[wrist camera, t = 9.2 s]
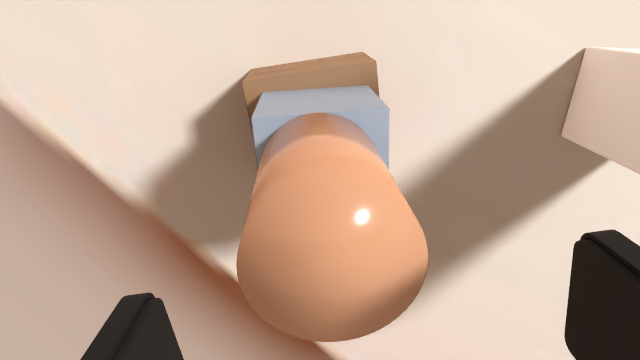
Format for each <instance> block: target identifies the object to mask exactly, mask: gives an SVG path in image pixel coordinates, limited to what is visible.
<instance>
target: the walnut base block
mask: <svg viewBox="0 0 640 360" xmlns="http://www.w3.org/2000/svg"><path fill="white" fill-rule="evenodd" d="M365 85H368V86H369V87H370V88H371V89H372V90H373V92H374V93H375V94H376V95H377V96H378V97H379V89H378V77H377V65H376V61H375V60H374V59H372V58H371V57H369V56H368V55H366V54H365V53H363V52H359V53H353V54H346V55H340V56H333V57H327V58H320V59H314V60H307V61H301V62H294V63H288V64H281V65H275V66H268V67H262V68H255V69H251V71H250V72H249V73H248V74H247V76H246V77H245V78H244V79H243V81H242V86H243V91H244V95H245V100H246V105H247V109H248V114H249V118H250V123H251V128H252V132H253V127H252V119H251V117H252V115H253V113H254V111H255V108H256V106H257V104H258V102H259V99H260V97H261V95H262V93H263V92H272V91H288V90H303V89H319V88H334V87H350V86H365ZM253 137H254V135H253Z"/></svg>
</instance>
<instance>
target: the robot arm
mask: <svg viewBox="0 0 640 360" xmlns="http://www.w3.org/2000/svg"><path fill="white" fill-rule="evenodd" d="M565 342H566V345H567V347H568V349H569V351H570V352H571V354H572V355H573V356H574V358H575V359H576V360H640V246H638V245H637V244H635V243H634V242H633V241H631V240H630V239H628V238H627V237H625V236H624V235H623V234H621V233H620V232H618V231H616V230H605V231H597V232H590V233H585V234H583V235H582V237H581V239H580V241H577V242H576V243H575V244H574V249H573V259H572V268H571V278H570V287H569V297H568V306H567V316H566V325H565ZM81 360H184V359H183V356H182V354H181V351H180V348H179V346H178V343H177V340H176V337H175V334H174V332H173V328H172V326H171V323H170V320H169V317H168V315H167V313H166V309H165V306H164V304H163V301H162V300H161V299H160V298H155V297H154V295H153V294H152V293H143V294H135V295H128V296H124V297H123V298H122V299H121V300H120V301H119V303H118V304H117V306H116V307H115V309H114V310H113V312H112V313H111V315H110V316H109V318H108V319H107V321H106V322H105V324H104V325H103V327H102V328H101V330H100V331H99V333H98V334H97V336H96V337H95V339H94V340H93V342H92V343H91V345H90V346H89V348H88V349H87V351H86V352H85V354H84V355H83V357H82V358H81Z"/></svg>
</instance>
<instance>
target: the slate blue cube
mask: <svg viewBox="0 0 640 360" xmlns="http://www.w3.org/2000/svg"><path fill="white" fill-rule="evenodd" d="M309 113H331V114H336V115H339V116H342V117H345V118H347V119H349V120H351V121H352V122H354V123H356V124H357V125H358V126H359V127H361V128H362V129H363V130H364V132H365V133H366V134H367V135H368V136H369V138H370V139H371V141H372V143H373V144H374V146H375V148H376V149H377V151H378V153H379V155H380V156H381V158H382V160H383V161H384V163H385V165H386V167H387V168H388V170H389V108H388V107H387V105H386V104H385V103H384V102H383V101H382V100H381V99H380V98H379V97H378V96H377V95H376V94H375V93H374V92H373V90H372V89H371V88H370V87H369V86H368V85H365V86H350V87H334V88H319V89H303V90H288V91H272V92H263V93H262V95H261V97H260V99H259V102H258V104H257V106H256V108H255V111H254V113H253V115H252V117H251V119H252V127H253V135H254V143H255V151H256V159H257V168H259V164H260V160H261V156H262V152H263V150H264V147H265V145H266V143H267V142H268V140H269V138H270V137H271V136H272V135H273V133H274V132H275V131H276V130H277V129H278V128H279V127H281V126H282V125H283V124H285V123H286V122H288V121H290V120H291V119H293V118H296V117H298V116H301V115H305V114H309Z"/></svg>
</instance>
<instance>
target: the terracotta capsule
mask: <svg viewBox="0 0 640 360" xmlns="http://www.w3.org/2000/svg"><path fill="white" fill-rule="evenodd" d="M427 265H428V248H427V242H426V238H425V235H424V232H423V230H422V228H421V226H420V224H419V222H418V220H417V218H416V217H415V215H414V213H413V211H412V210H411V208H410V206H409V205H408V203H407V201H406V199H405V198H404V196H403V194H402V192H401V191H400V189H399V187H398V186H397V184H396V182H395V180H394V179H393V177H392V175H391V174H390V172H389V170H388V168H387V167H386V165H385V163H384V161H383V160H382V158H381V156H380V155H379V153H378V151H377V149H376V148H375V146H374V144H373V143H372V141H371V139H370V138H369V136H368V135H367V134H366V133H365V132H364V130H363V129H362V128H361V127H359V126H358V125H357V124H356V123H354V122H352V121H351V120H349V119H347V118H345V117H342V116H339V115H336V114H331V113H309V114H305V115H301V116H298V117H296V118H293V119H291V120H290V121H288V122H286V123H285V124H283V125H282V126H281V127H279V128H278V129H277V130H276V131H275V132H274V133H273V135H272V136H271V137H270V138H269V140H268V142H267V143H266V145H265V147H264V150H263V152H262V156H261V160H260V164H259V168H258V172H257V176H256V180H255V184H254V188H253V192H252V196H251V200H250V204H249V209H248V213H247V217H246V221H245V225H244V229H243V233H242V237H241V241H240V245H239V249H238V253H237V276H238V280H239V285H240V287H241V289H242V292H243V295H244V296H245V298H246V300H247V302H248V303H249V305H250V306H251V307H252V309H253V310H254V311H255V312H256V313H257V314H258V315H259V316H260V317H261V318H262V319H263V320H264V321H266V322H267V323H268V324H270V325H271V326H273V327H274V328H276V329H278V330H280V331H282V332H284V333H286V334H289V335H291V336H294V337H297V338H301V339H305V340H311V341H320V342H337V341H345V340H350V339H355V338H359V337H362V336H365V335H368V334H370V333H373V332H375V331H377V330H379V329H381V328H383V327H384V326H386V325H388V324H389V323H391V322H392V321H393V320H395V319H396V318H397V317H399V316H400V315H401V314H402V313H403V312H404V311H405V310H406V309H407V308H408V307H409V305H410V304H411V303H412V302H413V301H414V299H415V297H416V296H417V294H418V293H419V291H420V289H421V286H422V284H423V282H424V279H425V275H426V272H427Z"/></svg>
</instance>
